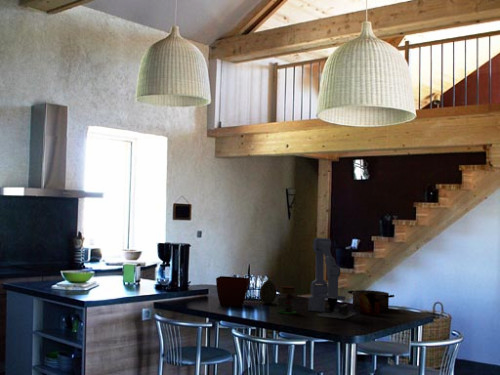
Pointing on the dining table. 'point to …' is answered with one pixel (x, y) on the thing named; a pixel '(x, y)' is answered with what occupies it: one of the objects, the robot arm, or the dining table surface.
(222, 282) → the plant pot
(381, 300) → the cooking pot
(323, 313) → the breaker panel
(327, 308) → the breaker
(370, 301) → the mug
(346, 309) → the breaker
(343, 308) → the breaker
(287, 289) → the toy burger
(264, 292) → the decorative egg
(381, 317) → the dining table surface
